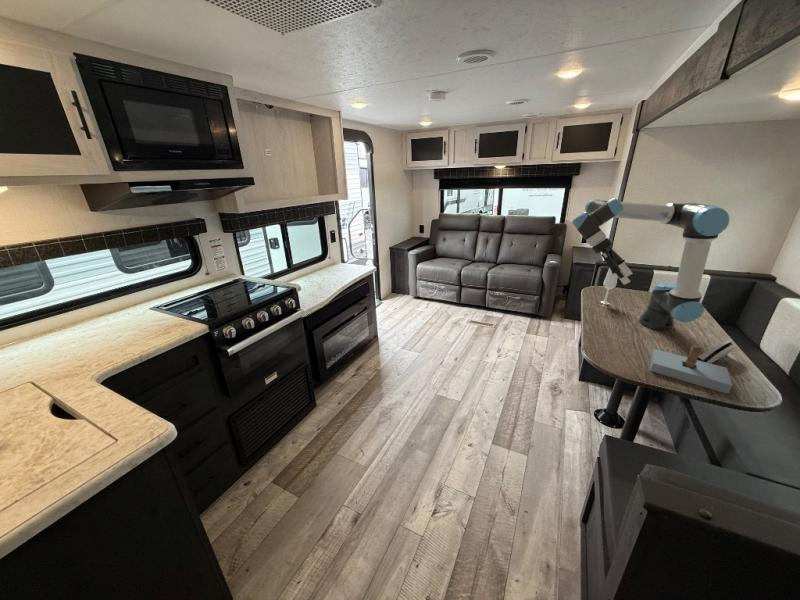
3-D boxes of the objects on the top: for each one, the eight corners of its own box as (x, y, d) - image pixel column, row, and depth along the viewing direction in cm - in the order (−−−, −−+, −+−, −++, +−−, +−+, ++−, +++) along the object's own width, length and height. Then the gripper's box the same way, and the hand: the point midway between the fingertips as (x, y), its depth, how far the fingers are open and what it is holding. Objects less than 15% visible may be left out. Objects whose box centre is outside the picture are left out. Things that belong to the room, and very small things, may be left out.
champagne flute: (606, 306, 193) (617, 269, 183) (595, 302, 198) (605, 266, 189) (612, 304, 196) (623, 268, 186) (602, 300, 201) (611, 265, 192)
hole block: (650, 371, 133) (653, 363, 131) (651, 356, 143) (653, 348, 141) (728, 393, 119) (732, 385, 118) (723, 375, 130) (727, 367, 128)
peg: (681, 370, 133) (692, 344, 128) (690, 373, 131) (701, 346, 126) (681, 373, 131) (692, 347, 126) (690, 376, 129) (702, 349, 124)
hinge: (712, 349, 148) (730, 335, 141) (723, 357, 145) (742, 343, 138) (694, 358, 141) (712, 344, 135) (705, 366, 138) (724, 352, 132)
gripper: (595, 242, 157) (622, 276, 155) (586, 252, 139) (617, 291, 137) (610, 232, 152) (638, 267, 150) (603, 242, 134) (635, 282, 132)
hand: (628, 279), depth 143 cm, fingers open, 13 cm apart
